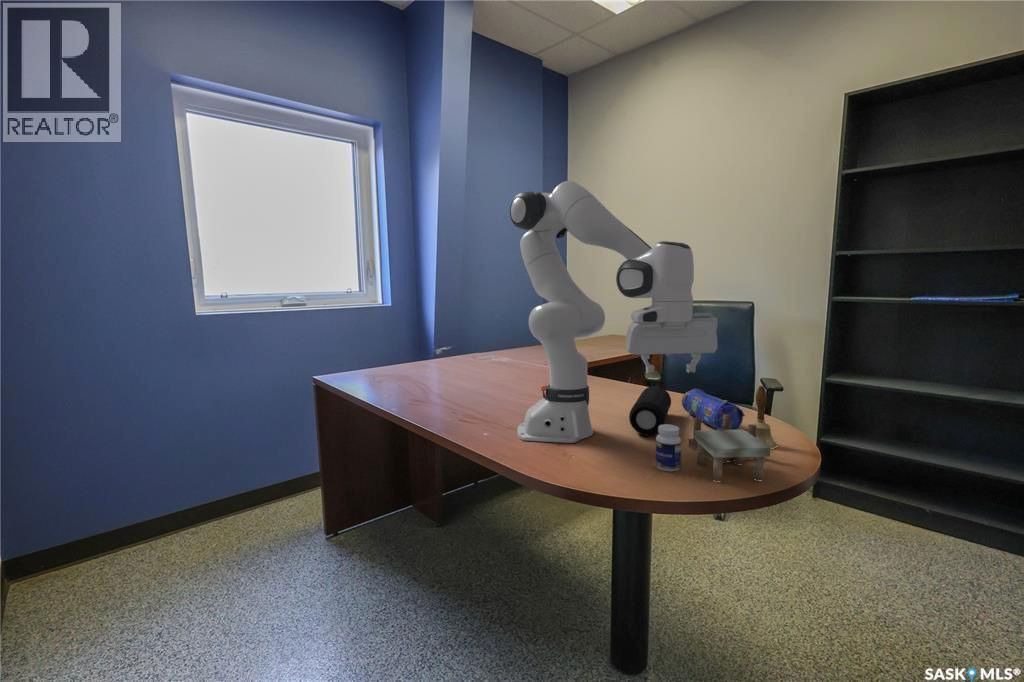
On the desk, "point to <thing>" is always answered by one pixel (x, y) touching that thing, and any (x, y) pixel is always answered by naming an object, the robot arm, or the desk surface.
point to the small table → (730, 449)
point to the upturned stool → (726, 426)
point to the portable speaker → (650, 410)
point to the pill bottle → (668, 448)
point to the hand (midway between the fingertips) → (670, 372)
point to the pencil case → (711, 409)
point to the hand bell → (761, 427)
